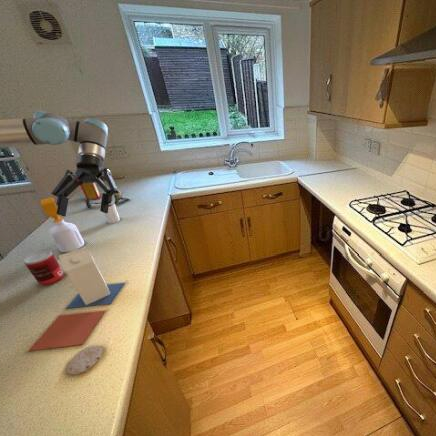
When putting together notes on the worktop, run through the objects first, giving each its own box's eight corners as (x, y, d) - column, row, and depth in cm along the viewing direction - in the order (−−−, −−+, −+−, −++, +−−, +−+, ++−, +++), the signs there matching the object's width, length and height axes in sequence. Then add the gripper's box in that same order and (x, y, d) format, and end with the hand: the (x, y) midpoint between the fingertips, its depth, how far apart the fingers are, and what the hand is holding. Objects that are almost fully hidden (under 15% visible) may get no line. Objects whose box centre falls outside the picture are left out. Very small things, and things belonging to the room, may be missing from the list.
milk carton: (83, 294, 85) (57, 251, 76) (106, 284, 90) (84, 242, 81) (86, 305, 81) (59, 261, 72) (110, 294, 85) (88, 250, 76)
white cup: (108, 219, 137) (101, 204, 132) (121, 217, 139) (115, 201, 135) (106, 224, 131) (98, 208, 127) (120, 222, 134) (113, 205, 129)
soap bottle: (84, 239, 119) (60, 193, 107) (85, 247, 112) (60, 199, 101) (60, 246, 114) (33, 199, 102) (60, 255, 107) (30, 205, 96)
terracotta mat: (28, 351, 67) (28, 350, 67) (59, 316, 78) (59, 315, 77) (82, 345, 68) (81, 344, 68) (105, 311, 79) (105, 310, 79)
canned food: (60, 270, 98) (46, 248, 93) (68, 276, 95) (54, 254, 89) (35, 281, 92) (19, 258, 87) (43, 288, 89) (27, 265, 84)
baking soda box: (99, 198, 165) (89, 176, 158) (87, 200, 162) (77, 178, 155) (100, 194, 172) (90, 172, 165) (89, 196, 169) (79, 174, 162)
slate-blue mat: (66, 308, 80) (65, 308, 80) (85, 287, 89) (84, 286, 89) (110, 304, 82) (110, 303, 81) (124, 283, 90) (124, 282, 90)
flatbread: (78, 380, 60) (77, 378, 59) (60, 369, 62) (58, 367, 62) (110, 351, 66) (109, 348, 66) (93, 342, 69) (91, 340, 69)
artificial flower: (91, 207, 156) (88, 191, 154) (131, 205, 164) (129, 190, 162) (85, 209, 148) (82, 192, 146) (128, 206, 156) (126, 191, 154)
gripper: (132, 162, 92) (127, 214, 86) (62, 165, 90) (52, 219, 84) (121, 151, 85) (114, 207, 79) (44, 155, 83) (32, 212, 77)
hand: (82, 213), depth 82 cm, fingers open, 13 cm apart
